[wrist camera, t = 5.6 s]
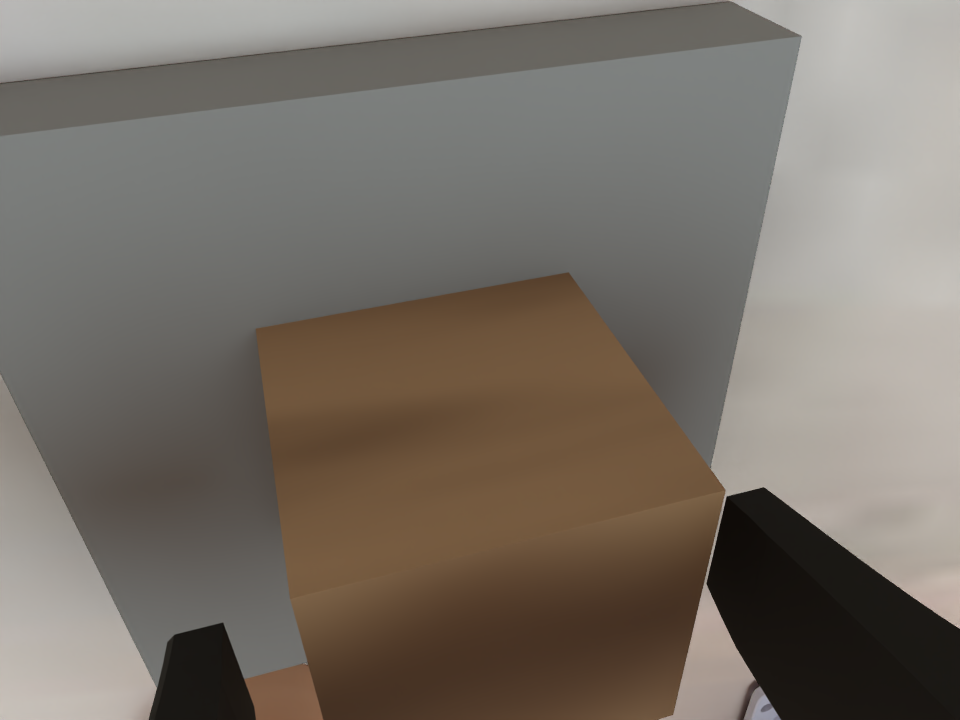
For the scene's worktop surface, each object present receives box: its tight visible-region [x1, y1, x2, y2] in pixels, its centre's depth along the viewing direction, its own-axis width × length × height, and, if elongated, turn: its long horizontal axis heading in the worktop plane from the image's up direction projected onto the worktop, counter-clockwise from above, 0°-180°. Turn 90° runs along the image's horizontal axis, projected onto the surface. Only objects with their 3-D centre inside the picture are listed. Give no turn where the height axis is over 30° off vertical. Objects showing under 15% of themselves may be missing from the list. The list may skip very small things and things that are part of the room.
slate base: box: [0, 2, 802, 687], centre depth 15 cm, size 12×12×2 cm
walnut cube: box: [256, 272, 725, 720], centre depth 12 cm, size 5×5×5 cm
